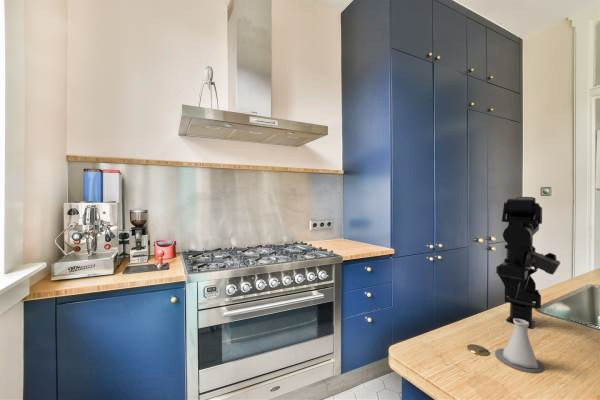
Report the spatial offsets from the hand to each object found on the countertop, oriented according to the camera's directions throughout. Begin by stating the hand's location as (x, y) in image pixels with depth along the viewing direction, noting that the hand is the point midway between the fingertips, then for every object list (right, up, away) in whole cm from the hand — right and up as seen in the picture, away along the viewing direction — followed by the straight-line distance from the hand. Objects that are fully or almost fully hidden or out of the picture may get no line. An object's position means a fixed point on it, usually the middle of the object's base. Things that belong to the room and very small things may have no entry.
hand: (517, 295), depth 78 cm
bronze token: (-15, -13, -5) cm, 20 cm away
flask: (-7, -13, -10) cm, 18 cm away
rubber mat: (-8, -13, -10) cm, 18 cm away
